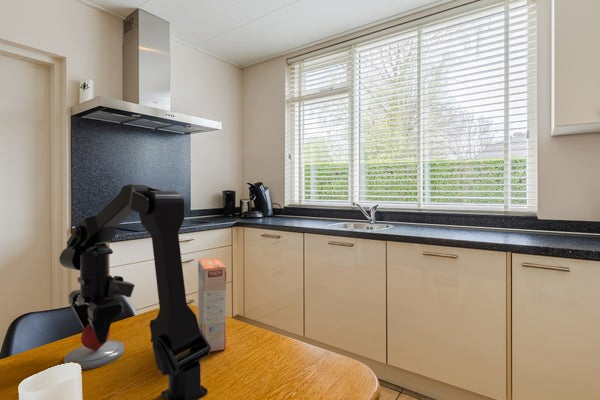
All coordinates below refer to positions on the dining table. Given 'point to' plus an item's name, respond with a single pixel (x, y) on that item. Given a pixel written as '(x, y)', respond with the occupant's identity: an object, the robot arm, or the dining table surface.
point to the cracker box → (212, 302)
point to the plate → (95, 355)
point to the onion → (91, 338)
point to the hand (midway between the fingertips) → (95, 337)
